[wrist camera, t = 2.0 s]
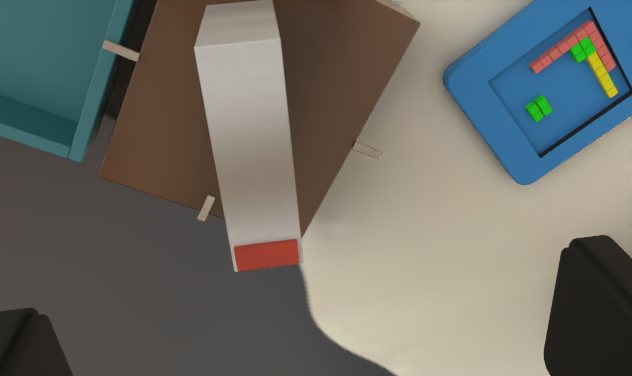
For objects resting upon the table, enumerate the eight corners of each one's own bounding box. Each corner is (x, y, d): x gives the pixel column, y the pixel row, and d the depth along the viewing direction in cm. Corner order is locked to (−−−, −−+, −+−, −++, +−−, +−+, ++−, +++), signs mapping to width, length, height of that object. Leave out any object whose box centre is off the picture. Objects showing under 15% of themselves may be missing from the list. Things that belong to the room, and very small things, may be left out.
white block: (205, 5, 22) (192, 49, 16) (272, -2, 22) (281, 40, 16) (236, 192, 26) (234, 276, 20) (292, 185, 26) (304, 267, 21)
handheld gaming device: (796, 7, 26) (524, 193, 30) (776, 2, 27) (515, 183, 31) (746, -152, 23) (443, 83, 26) (726, -151, 24) (436, 75, 27)
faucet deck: (81, 144, 27) (62, 175, 24) (165, -124, 22) (154, -123, 19) (313, 225, 31) (320, 259, 28) (431, 13, 26) (453, 30, 23)
